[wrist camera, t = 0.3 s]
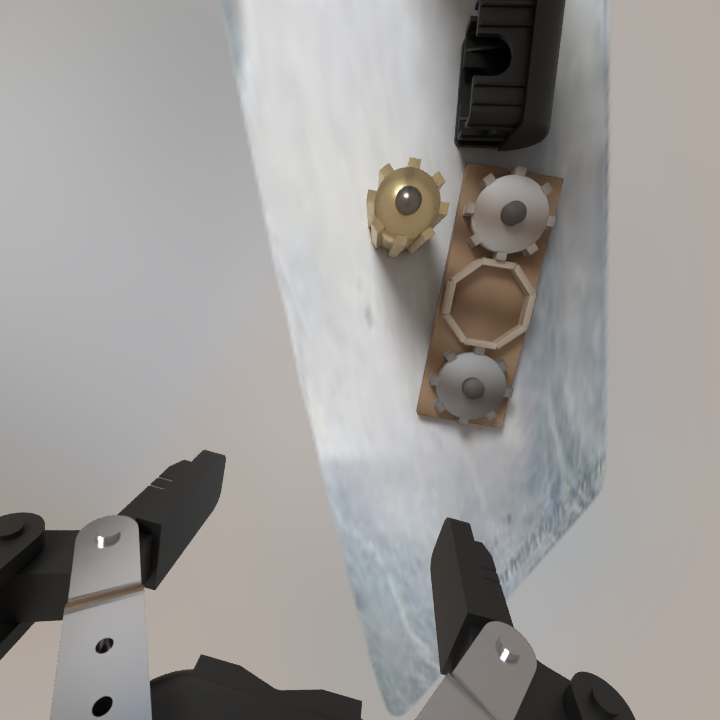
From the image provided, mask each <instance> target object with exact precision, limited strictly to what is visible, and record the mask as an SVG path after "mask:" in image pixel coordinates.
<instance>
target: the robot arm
mask: <svg viewBox="0 0 720 720" xmlns="http://www.w3.org/2000/svg"><path fill="white" fill-rule="evenodd" d="M225 462H226V457H225V455H222V454H218V453H214V452H211V451H207V450H203V451H202V452H201V453H200V454H199V455H198V456H197V457H196V458H195V459H194V460H193V461H192V462H190V461H186V460H183V461H180V462H178V463H176V464H174V465H172V466H170V467H168V468H167V469H166V470H165V471H164V472H163V473H162V474H161V475H160V476H159V478H157V479H156V480H155V481H153V482H152V483H151V485H150V486H148V487H147V488H146V489H145V490H144V491H143V492H142V493H140V494H139V495H138V496H137V497H136V498H135V499H134V500H133V501H132V502H131V503H130V504H128V505H127V506H126V507H125V508H124V509H123V510H122V511H121V512H120V513H119V514H118V515H112V516H106V517H102V518H99V519H96V520H94V521H92V522H90V523H89V524H87V525H86V526H84V527H83V528H82V529H81V530H71V531H70V530H45V522H44V520H43V519H42V518H41V517H40V516H39V515H36V514H33V513H13V514H8V515H4V516H1V517H0V660H1V659H2V658H3V657H4V655H5V654H6V653H7V652H8V651H9V650H10V649H11V648H12V647H13V646H14V644H15V643H16V642H17V641H18V640H19V639H20V638H21V637H22V636H23V635H24V633H25V632H26V631H27V630H28V629H29V628H30V627H31V625H33V624H34V622H38V621H56V620H63V623H62V631H61V638H60V645H59V653H58V660H57V668H56V676H55V683H54V691H53V698H52V706H51V713H50V720H363V719H361V708H362V701H359V700H356V699H353V698H349V697H346V696H342V695H339V694H336V693H332V692H329V691H325V690H277V689H275V688H273V687H271V686H270V685H268V684H267V683H265V682H264V681H262V680H261V679H259V678H258V677H256V676H255V675H253V674H252V673H250V672H249V671H247V670H246V669H244V668H243V667H241V666H240V665H236V664H233V663H229V662H226V661H222V660H219V659H215V658H212V657H208V656H205V655H201V656H200V658H199V660H198V662H197V664H196V666H195V668H194V669H191V670H182V671H175V672H172V673H168V674H165V675H162V676H160V677H157V678H155V679H153V680H151V681H150V680H149V663H148V644H147V628H146V612H145V611H146V610H145V593H144V587H145V588H149V589H152V590H156V588H157V587H158V586H159V584H160V583H161V581H162V580H163V579H164V577H165V576H166V574H167V573H168V572H169V570H170V569H171V568H172V566H173V565H174V564H175V562H176V561H177V559H178V558H179V557H180V555H181V554H182V553H183V551H184V549H185V548H186V547H187V546H188V544H189V543H190V542H191V540H192V539H193V537H194V536H195V535H196V533H197V532H198V530H199V529H200V528H201V526H202V525H203V524H204V522H205V521H206V519H207V518H208V517H209V515H210V514H211V513H212V511H213V510H214V508H215V506H216V504H217V502H218V499H219V497H220V493H221V488H222V482H223V475H224V469H225ZM430 570H431V581H432V591H433V601H434V611H435V621H436V631H437V641H438V652H439V662H440V672H441V674H443V675H446V676H445V678H444V679H443V681H442V682H441V683H440V685H439V686H438V688H437V689H436V690H435V692H434V693H433V695H432V696H431V698H430V699H429V701H428V702H427V703H426V705H425V706H424V708H423V709H422V711H421V712H420V713H419V715H418V716H417V718H416V719H415V720H635V718H634V716H633V714H632V712H631V710H630V708H629V706H628V705H627V703H626V702H625V701H624V699H623V698H622V697H621V696H620V695H619V693H618V692H617V691H616V690H615V689H614V688H613V687H612V686H610V685H609V684H608V683H607V682H606V681H604V680H603V679H601V678H599V677H598V676H596V675H594V674H591V673H588V672H578V673H576V674H575V675H574V676H573V678H572V679H571V681H570V680H568V679H566V678H565V677H563V676H561V675H560V674H558V673H556V672H555V671H553V670H551V669H550V668H548V667H546V666H545V665H543V664H542V663H540V662H539V661H538V660H536V656H535V653H534V651H533V649H532V647H531V646H530V644H529V643H528V641H527V640H526V639H525V638H524V637H523V636H522V634H520V633H519V632H518V631H517V630H516V629H514V627H513V624H512V620H511V617H510V614H509V610H508V607H507V604H506V601H505V597H504V594H503V591H502V588H501V585H500V584H499V583H500V581H499V578H498V575H497V573H496V568H495V565H494V562H493V558H492V556H491V554H490V553H489V552H488V550H487V549H486V547H485V546H484V545H483V543H481V542H477V541H474V538H473V534H472V530H471V526H470V524H469V523H467V522H463V521H459V520H456V519H452V518H449V517H447V518H446V519H445V521H444V524H443V526H442V529H441V532H440V534H439V537H438V540H437V542H436V545H435V548H434V550H433V554H432V558H431V568H430Z"/></svg>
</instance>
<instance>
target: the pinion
mask: <svg viewBox="0 0 720 720" xmlns="http://www.w3.org/2000/svg"><path fill="white" fill-rule="evenodd" d="M420 163H421V159H416V158H409V162H408V165H407V167H405V168H400V169H397V170H395V171H394V170H393V168H392V167H391V165H390V164H389V163H388V164H387V165H386V166H384V167H383V168H382V169H381V170H380V171H379V187H378V190H377V191H374V190H368V195H367V201H366V202H367V217H368V227H371V242H372V243H373V245H374V246H375V248H377V247H379V246H380V245H382V246H383V247H385V248H386V249H388V250H389V255H388V256H389V257H395V258H396V257H397V256H398V255H399V253H400V252H401V251H403V250H406V249H407V250H408V251H409V253H410V254H411V253H413V252H414V251H415V250H417V249H418V248H419V247H420V246H421V245H423V244H424V243H425V242H426V241H427V240H428V239H429V238H431V237H432V236H433V235H434V234H435V232H434V231H433V228H434V227H435V226H436V225H437V224H438V223H439V222H440V221H441V220H442V219H443V218H444V217H445V216H446V215H447V212H448V207H449V203H446V202H440V193H439V190H440V188H441V187H442V185H443V184H444V182H445V180H444V178H443V177H442V175H441V174H440V172H437V173H436V174H435V175H433V176H432V177H431V176H430V175H429V174H427V173H426V172H424V171H423V170H420Z"/></svg>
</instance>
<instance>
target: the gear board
mask: <svg viewBox="0 0 720 720" xmlns="http://www.w3.org/2000/svg"><path fill="white" fill-rule="evenodd" d="M526 171H527V167H521V166H517V167H516V168H514V169H513V170H508V169H502V168H496V167H490V166H484V165H478V164H472V163H468V165H467V166H466V167H465V172H464V177H463V182H462V187H461V192H460V197H459V202H458V207H457V212H456V217H455V222H454V227H453V232H452V237H451V242H450V247H449V252H448V256H447V261H446V266H445V271H444V276H443V281H442V286H441V291H440V296H439V301H438V306H437V311H436V316H435V321H434V326H433V331H432V336H431V341H430V346H429V351H428V356H427V361H426V366H425V370H424V375H423V380H422V385H421V390H420V395H419V400H418V405H417V410H416V411H417V413H418V414H420V415H426V416H432V417H438V418H444V419H450V420H456V421H457V423H458V424H459V425H464V426H467V425H468V423H474V424H480V425H486V426H492V427H498V428H501V426H502V422H503V418H504V414H505V410H506V406H507V402H508V398H511V396H512V392H513V389H512V388H511V386H512V382H513V378H514V374H515V370H516V367H517V363H518V359H519V355H520V351H521V347H522V343H523V339H524V335H525V331H526V330H527V329H526V328H528V327H529V323H530V319H531V316H532V312H533V308H534V304H535V300H536V296H537V295H535V293H536V287H537V283H538V279H539V275H540V271H541V267H542V263H543V259H544V255H545V251H546V247H547V243H548V239H549V235H550V231H551V228H552V227H554V226H555V222H556V218H557V217H555V216H554V215H555V211H556V207H557V203H558V199H559V195H560V191H561V187H562V183H563V179H562V178H556V177H550V176H544V175H538V174H532V173H526Z"/></svg>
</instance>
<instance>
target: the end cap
mask: <svg viewBox="0 0 720 720" xmlns="http://www.w3.org/2000/svg"><path fill="white" fill-rule="evenodd" d="M564 8H565V0H477V1H476V3H475V10H478V16H471V17H470V20H469V23H468V26H467V30H466V35H465V39H464V42H463V45H462V53H461V66H460V78H459V90H458V103H457V115H456V127H455V139H454V141H455V144H456V146H458V147H469V148H498V151H508V150H517V149H522V148H526V147H529V146H532V145H535V144H537V143H539V142H540V141H542V140H543V139H544V138H545V137H546V136H547V135H548V132H549V128H550V120H551V112H552V104H553V96H554V88H555V80H556V72H557V64H558V56H559V48H560V40H561V32H562V24H563V16H564Z"/></svg>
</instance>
